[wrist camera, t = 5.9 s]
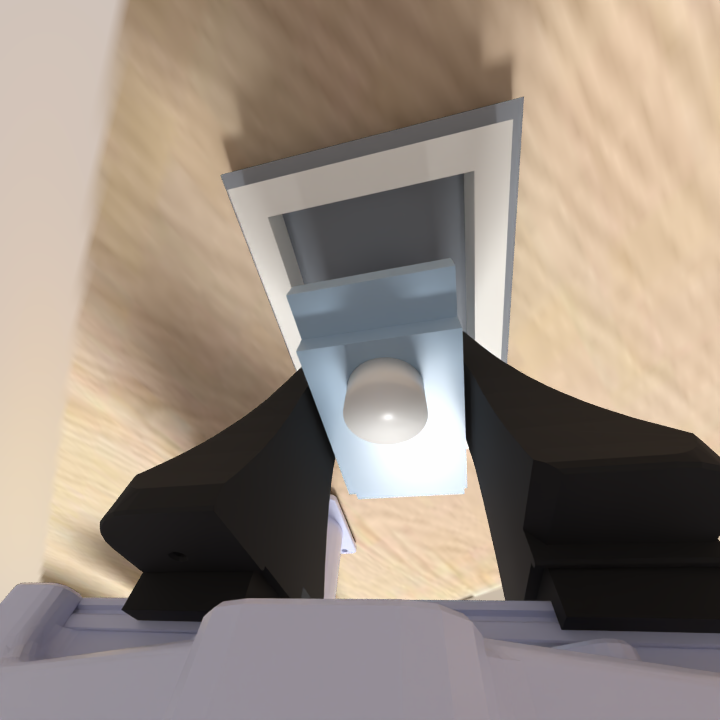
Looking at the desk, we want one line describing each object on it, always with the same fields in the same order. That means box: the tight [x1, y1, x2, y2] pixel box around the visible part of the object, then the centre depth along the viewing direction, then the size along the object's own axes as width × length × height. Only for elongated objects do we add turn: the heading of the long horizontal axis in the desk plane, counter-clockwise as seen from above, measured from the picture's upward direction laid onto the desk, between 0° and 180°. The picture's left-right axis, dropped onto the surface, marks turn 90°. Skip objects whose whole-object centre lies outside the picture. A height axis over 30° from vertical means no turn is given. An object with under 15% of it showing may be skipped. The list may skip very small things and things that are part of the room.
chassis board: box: [221, 97, 524, 459], centre depth 13 cm, size 10×14×2 cm
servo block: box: [286, 258, 467, 499], centre depth 10 cm, size 4×8×6 cm, turn 12°
